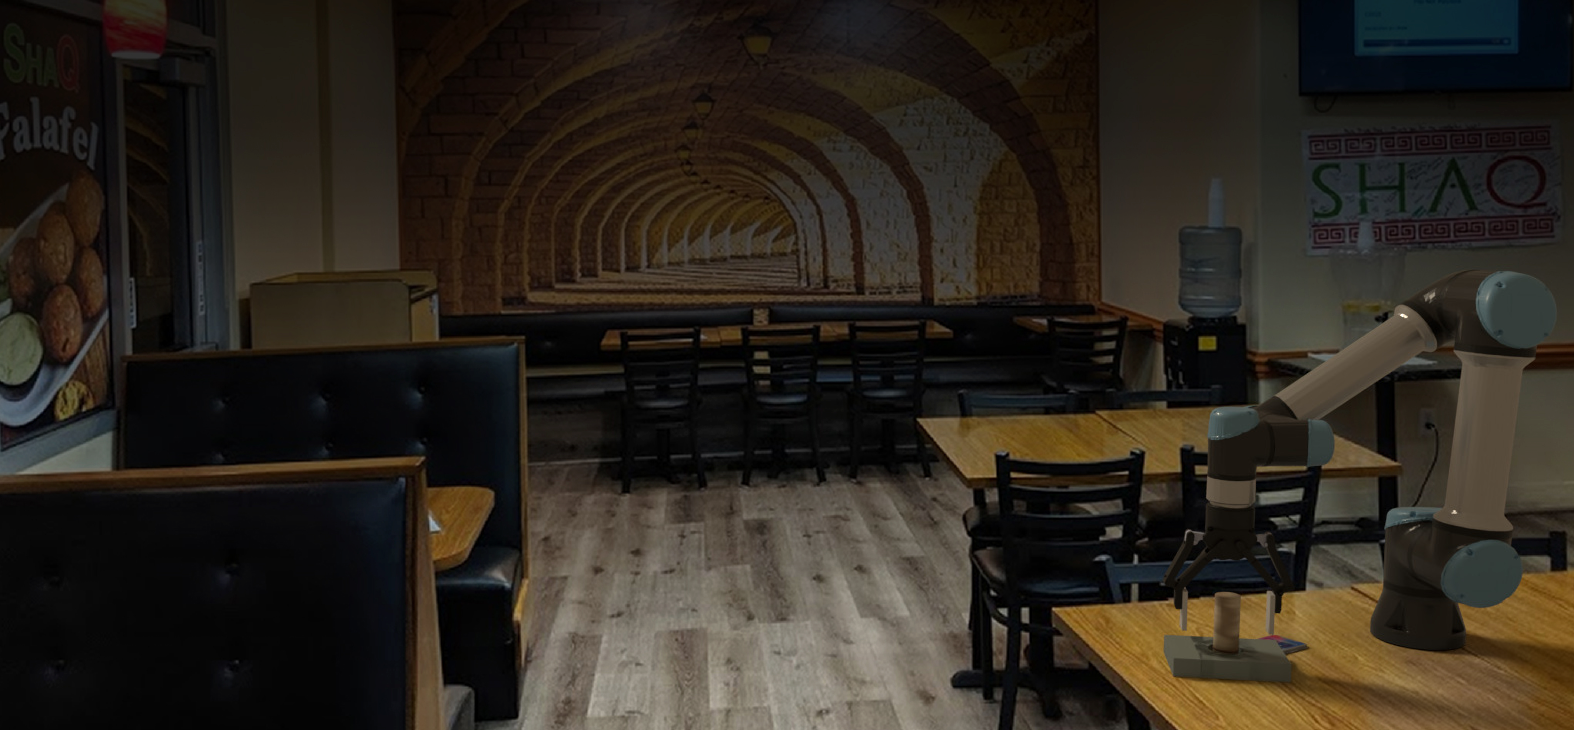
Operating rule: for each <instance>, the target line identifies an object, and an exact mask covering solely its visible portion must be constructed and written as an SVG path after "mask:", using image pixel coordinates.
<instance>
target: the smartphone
mask: <svg viewBox="0 0 1574 730" xmlns="http://www.w3.org/2000/svg"><path fill="white" fill-rule="evenodd" d="M1257 639H1266V640H1276V642H1277V643H1278V645H1279V646H1280V648H1281V649H1282V651H1283V652H1284V654H1285V655H1288V654H1291V653H1295V652H1300V651H1302V650H1306V649H1307V648H1308V644H1307V643H1305V642H1302V641H1298V640H1295V639H1293V638H1292V639H1291V638H1289V637H1286V636H1282V635H1277V634H1274V635H1266V636H1263V637H1259V638H1257Z"/></svg>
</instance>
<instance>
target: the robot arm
mask: <svg viewBox="0 0 1574 730" xmlns="http://www.w3.org/2000/svg"><path fill="white" fill-rule="evenodd" d="M1393 313H1394V314H1393V316H1391V317H1390V318H1388V319H1387V320H1385V321H1384V322H1383V323H1381V324H1379V325H1378V326H1376V327H1375V328H1373V329H1372V330H1370V331H1369V332H1367V333H1366V334H1364V335H1363V336H1362V337H1360V338H1359V339H1357V340H1355V341H1354V342H1352V343H1350V345H1348V346H1346V347H1345V348H1343V349H1342V350H1340V351H1339V352H1338V353H1336V354H1335V355H1333V356H1331V357H1329V359H1327V360H1326V361H1324V362H1322V363H1321V364H1320V365H1318V366H1317V367H1315V368H1314V369H1312V370H1311V371H1309V372H1308V373H1306V374H1305V375H1303V376H1302V377H1300V378H1299V379H1297V380H1296V381H1294V382H1292V383H1290V384H1289V385H1288V386H1287V387H1285V388H1284V389H1282V390H1280V391H1279V392H1278V393H1276V394H1274V395H1273V396H1272V397H1270V398H1268V399H1267V400H1264V401H1263V402H1262V403H1261V404H1258V405H1257V404H1255V405H1247V406H1244V407H1242V406H1220V407H1216V408H1214V409H1213V410H1212V411H1211V412H1210V414H1209V420H1208V430H1207V436H1206V437H1207V476H1206V479H1207V480H1206V495H1205V496H1206V497H1205V498H1206V500H1208V502H1207V503H1206V504H1205V522H1204V523H1205V526H1204V530H1203V531H1193V530H1192V529H1190V528H1187V529H1186V530H1185V531H1184V534H1183V542H1182V543H1181V545H1180V547H1179V548H1178V550H1177V552H1176V554H1175V555H1174V557H1173V559H1172V561H1171V562H1170V565H1169V566H1168V568H1167V570H1166V571H1165V573H1164V576H1163V577H1162V582H1163V583H1164V585H1165V586H1166V588H1167V587H1169V588H1172V589H1173V606H1174V608H1175V609H1176V610H1179V628H1180V629H1181V631H1182V632H1183V631H1185V632H1186V631H1187V629H1188V603H1189V601H1188V599H1189V595H1188V594H1189V591H1188V590H1187V588H1186V587H1187V586H1188V585H1189V584H1190V583H1191V581H1193V580H1194V579H1195V577H1196V576H1198V575H1199V574H1200V573H1201V571H1202V570H1203V569H1204V568H1205V567H1206V566H1207V565H1208V564H1209V563H1211V562H1212V561H1213V560H1214V559H1215V558H1216V559H1218V560H1220V561H1227V560H1232V561H1234V562H1235V561H1237V562H1238V561H1240V560H1243V559H1244V558H1245V559H1246V560H1247V561H1248V562H1249V563H1250V565H1251V566H1252V567H1253V569H1255V571H1256V572H1257V573H1258V574H1259V575H1260V577H1261V578H1262V579H1263V580H1264V582H1265V583H1266V584H1267V585H1268V587H1270V588H1271V590H1267V591H1266V603H1265V604H1266V605H1265V606H1266V610H1265V631H1266V632H1267V634H1268V636H1270V635H1275V619H1276V617H1275V614H1281V613H1282V604H1283V595H1284V594H1285V593H1288V592H1289V593H1290V592H1294V591H1295V589H1296V588H1295V585H1294V583H1293V581H1292V579H1291V577H1290V575H1289V572H1288V571H1287V569H1286V567H1285V564H1284V562H1283V560H1282V558H1281V556H1280V555H1279V552H1278V550H1277V547H1276V537H1275V535H1273V533H1271V531H1265V532H1264V533H1259V534H1256V533H1255V518H1256V517H1255V516H1256V506H1255V505H1254V503H1255V502H1256V491H1257V489H1256V487H1257V486H1256V485H1257V484H1256V483H1257V467H1265V468H1266V467H1306V468H1310V467H1315V466H1316V467H1317V466H1318V467H1319V466H1325V465H1328V464H1329V463H1330V461H1331V460H1332V459H1333V456H1334V453H1335V443H1336V442H1335V441H1336V440H1335V434H1334V432H1333V428H1332V427H1331V425H1330V424H1329V423H1328V422H1327V421H1325V420H1323V419H1322V418H1323V417H1325V416H1326V415H1328V414H1329V413H1331V412H1333V411H1334V410H1336V409H1337V408H1338V407H1340V406H1342V405H1343V404H1345V403H1346V402H1347V401H1349V400H1351V399H1352V398H1354V397H1355V396H1357V395H1358V394H1360V393H1362V391H1364V390H1365V389H1367V388H1369V387H1371V385H1373V384H1375V383H1377V382H1379V380H1381V379H1382V378H1384V377H1386V376H1388V375H1389V374H1391V372H1393V371H1395V370H1397V369H1398V368H1399V367H1401V366H1403V365H1404V364H1405V363H1407V362H1408V361H1410V360H1411V359H1413V358H1414V357H1416V356H1417V355H1419V354H1421V353H1422V352H1428V353H1432V352H1435V351H1436V350H1438V349H1439V348H1441V347H1443V346H1444V345H1447V344H1449V343H1452V342H1453V344H1454V345H1453V352H1454V354H1455V356H1457V358H1459V360H1460V362H1461V363H1462V364H1461V365H1462V366H1461V372H1460V382H1459V390H1458V397H1457V404H1456V412H1455V420H1454V429H1453V437H1452V445H1451V453H1450V462H1449V469H1448V478H1447V485H1446V493H1445V501H1444V506H1443V507H1432V506H1431V507H1427V506H1402V507H1395V508H1394V507H1393V508H1392V509H1389V511H1388V512H1387V514H1386V520H1385V525H1384V552H1383V553H1384V555H1383V556H1384V558H1383V577H1382V578H1383V582H1382V591H1381V594H1380V595H1379V598H1378V601H1377V602H1376V605H1375V607H1374V609H1373V612H1372V614H1371V617H1370V621H1369V622H1370V623H1369V625H1370V626H1369V627H1370V628H1369V632H1370V633H1371V635H1372V636H1373V637H1375V638H1376V639H1379V640H1381V641H1384V642H1387V643H1389V644H1391V645H1392V644H1393V645H1397V646H1401V647H1406V648H1411V649H1416V650H1417V649H1418V650H1428V651H1429V650H1431V651H1445V650H1454V649H1459V648H1462V647H1464V646H1465V645H1466V643H1467V628H1466V625H1465V622H1464V619H1463V615H1462V611H1461V608H1460V605H1459V604H1461V605H1465V606H1468V607H1471V608H1476V609H1486V608H1491V607H1494V606H1497V605H1500V604H1502V603H1503V602H1504V601H1505V600H1506V599H1508V598H1510V597H1512V595H1514V594H1515V592H1516V591H1517V589H1518V588H1519V586H1520V584H1521V581H1522V578H1523V573H1524V568H1523V567H1524V565H1523V561H1522V559H1521V556H1520V555H1519V554H1518V552H1517V551H1516V549H1515V548H1514V547H1512V540H1513V539H1512V538H1513V531H1514V526H1513V525H1512V523H1511V522H1510V521H1509V519H1507V518H1506V516H1505V509H1506V501H1507V494H1508V488H1509V487H1508V485H1509V479H1510V478H1509V477H1510V469H1511V463H1512V455H1513V448H1514V441H1515V440H1514V439H1515V432H1516V425H1517V416H1518V410H1519V409H1518V408H1519V400H1520V395H1521V385H1522V378H1523V372H1524V371H1523V370H1524V369H1525V367H1526V366H1529V364H1530V363H1532V362H1534V360H1536V355H1537V349H1538V347H1537V346H1538V345H1539V344H1541V343H1543V342H1544V341H1545V339H1546V337H1549V336H1550V335H1551V333H1552V332H1553V330H1554V328H1555V325H1556V323H1557V318H1558V317H1557V315H1558V309H1557V304H1556V300H1555V297H1554V295H1553V294H1552V291H1551V290H1550V289H1549V288H1548V286H1546V285H1545V283H1544V282H1542V281H1541V280H1540V279H1538V278H1536V277H1535V276H1532V275H1529V274H1526V273H1520V272H1517V271H1511V270H1502V271H1500V270H1499V271H1498V270H1482V269H1481V270H1479V269H1463V270H1459V271H1455V272H1452V273H1450V274H1447V275H1445V276H1443V277H1441V278H1438V279H1437V280H1436V281H1434V282H1432V283H1430V284H1429V285H1427V286H1426V287H1424V288H1423V289H1420V291H1418V292H1416V293H1414V294H1413V295H1412V296H1410V297H1409V298H1407V299H1406V300H1404V301H1403V302H1401V303H1399V305H1397V306H1396V307H1394V312H1393ZM1201 540H1202V541H1203V542H1204V544H1205V548H1204V549H1203V550H1202V551H1201V552H1200V553H1199V555H1198V556H1197V557H1196V558H1195V559H1194V560H1193V561H1192V563H1190V565H1189V566H1188V567H1187V568H1186V569H1184V571H1183V572H1182V573H1181V574H1180V573H1179V572H1180V571H1181V569H1182V568H1183V566H1184V564H1185V562H1186V560H1187V559H1188V557H1189V556H1190V554H1191V552H1192V550H1193V547H1194V546H1196V545H1198V543H1199V542H1200V541H1201ZM1257 542H1258V543H1260V545H1261V546H1262V548H1265V549H1266V552H1267V555H1268V557H1269V558H1270V560H1271V562H1272V564H1273V566H1274V569H1275V570H1276V572H1277V574H1278V576H1279V578H1280V580H1281V582H1279V583H1278V582H1277V581H1275V579H1274V578H1273V577H1272V575H1271V574H1270V573H1269V572H1268V570H1267V569H1266V568H1265V567H1264V566H1263V564H1262V563H1261V562H1260V561H1259V560H1258V559H1257V557H1256V556H1255V554H1253V552H1252V549H1253V548H1254V547H1255V545H1257ZM1178 574H1180V575H1179V576H1178ZM1177 576H1178V577H1177Z"/></svg>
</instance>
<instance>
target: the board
mask: <svg viewBox="0 0 1574 730" xmlns="http://www.w3.org/2000/svg"><path fill="white" fill-rule="evenodd" d="M1163 654H1164V657H1165V659H1166V662H1167V664H1168V668H1170V672H1171V674H1172V676H1173V677H1178V678H1179V677H1181V678H1182V677H1183V678H1200V679H1201V678H1202V679H1218V680H1219V679H1220V680H1221V679H1222V680H1240V681H1259V682H1275V683H1276V682H1279V683H1291V681H1292V662H1291V661H1290V659H1289V658H1288V656H1287V654H1284V652H1283V651H1282V649H1281V648H1280V646H1279V645H1278V643H1277V642H1276V640H1266V639H1258V638H1243V637H1239V654H1234V655H1231V654H1221V653H1216V652H1213V636H1197V635H1194V636H1193V635H1178V634H1173V635H1172V634H1163Z"/></svg>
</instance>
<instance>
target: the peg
mask: <svg viewBox="0 0 1574 730" xmlns="http://www.w3.org/2000/svg"><path fill="white" fill-rule="evenodd" d="M1241 598H1242V596H1241V594H1238V593H1235V592H1230V591H1218V592H1216V593H1214V609H1213V610H1214V611H1213V636H1212V637H1213V652H1216V653H1221V654H1231V655H1234V654H1239V638H1240V629H1241V627H1240V623H1241V602H1242V601H1241V600H1242V599H1241Z"/></svg>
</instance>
